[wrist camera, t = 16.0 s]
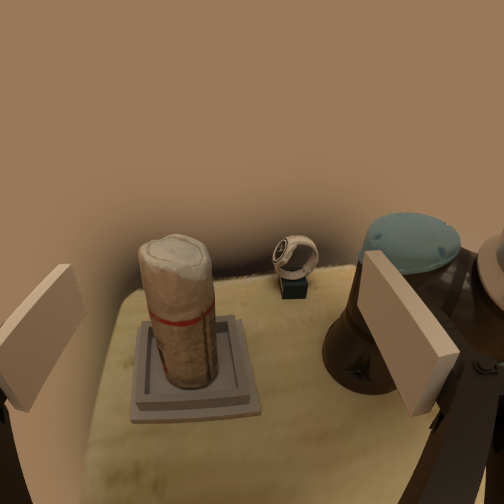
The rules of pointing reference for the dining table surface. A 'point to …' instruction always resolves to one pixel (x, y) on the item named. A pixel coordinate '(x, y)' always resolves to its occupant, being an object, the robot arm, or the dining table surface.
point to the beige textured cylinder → (181, 308)
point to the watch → (293, 277)
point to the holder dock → (195, 399)
